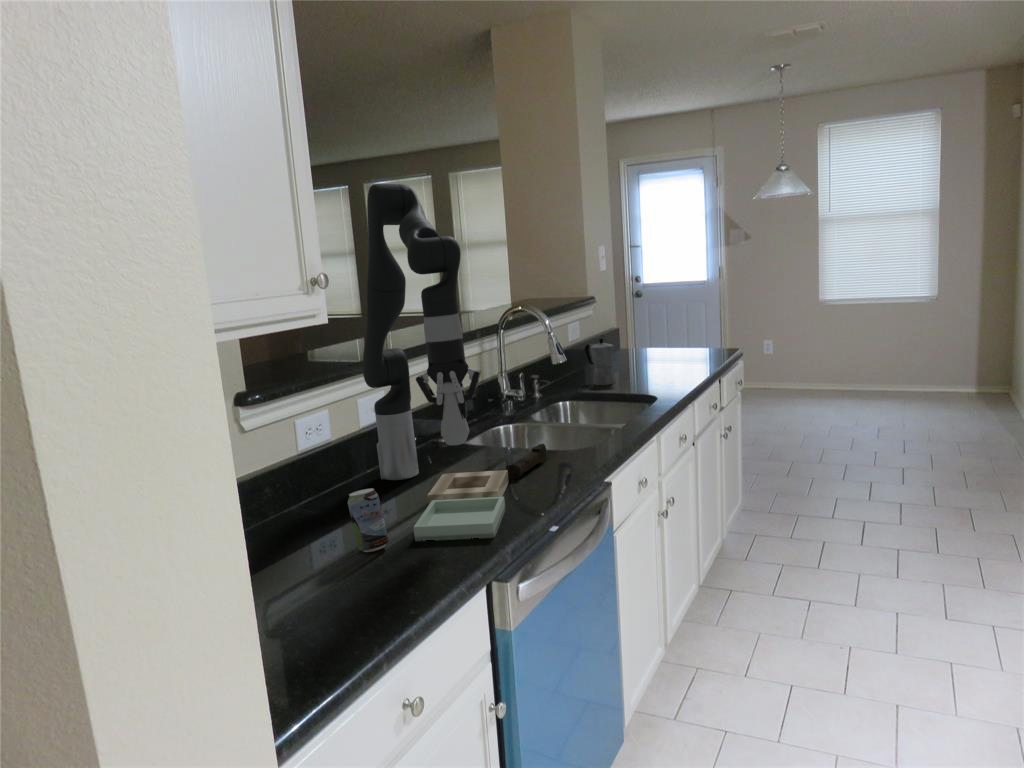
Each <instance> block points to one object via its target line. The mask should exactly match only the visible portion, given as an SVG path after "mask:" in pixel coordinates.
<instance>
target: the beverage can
mask: <svg viewBox="0 0 1024 768" xmlns="http://www.w3.org/2000/svg"><path fill="white" fill-rule="evenodd" d="M348 496H349V497H348V498H347V506H348V510H349V515H350V519H351V524H352V527H353V532H354V536H355V539H356V540H355V541H356V544H357V548H358V550H360V551H362V552H364V553H372V552H376V551H378V550H379V551H380V550H381V549H383V548H385V547H386V545H387V544H388V542H389V536H388V535H389V534H388V530H387V528H386V523H385V518H384V514H383V509H382V506H381V501H380V496H379V494H378V492H376V490H375V488H371V487H370V488H363V489H360V490H356V491H353V492H351V493H349V494H348Z"/></svg>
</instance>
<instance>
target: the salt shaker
mask: <svg viewBox="0 0 1024 768" xmlns="http://www.w3.org/2000/svg"><path fill="white" fill-rule="evenodd" d="M456 387H457V386H456ZM442 392H443V405H444V409H443V421H442V420H440V421H441V423H440V435H441V437H442V439H443V440H444V443H445V444H446V445H448V446H459V445H463V444H466V443H467V439H468V437H469V434H470V428H469V425H468V421H467V419H466V418H467V417H466V418H464V416H463V419H462V416H461V413H460V410H459V407H458V404H459V401H458V398H457V394H456V393H455V390H454V386H453V383H452V382H445V383H443V385H442Z"/></svg>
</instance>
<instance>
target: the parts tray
mask: <svg viewBox="0 0 1024 768" xmlns="http://www.w3.org/2000/svg"><path fill="white" fill-rule="evenodd" d="M505 512H506V500H505V496H502V497H487V498H468V499H449V500H432V501H431V503H430V504H429V503H428V506H427V507H426V509H425V510H424V511H423V513H422V514H421V515H420V517H419V519H418V520H417V522H416V523H415V524H414V526H413V534H414V542H427V541H426V540H435V541H448V540H449V541H455V540H471V538H472V540H474V539H473V538H479V539H494V537H496V535H497V533H498V531H499V528H500V526H501V522H502V520H503V518H504V515H505ZM421 540H422V541H421Z"/></svg>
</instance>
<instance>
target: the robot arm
mask: <svg viewBox="0 0 1024 768" xmlns="http://www.w3.org/2000/svg"><path fill="white" fill-rule="evenodd" d="M366 200H367V203H366V204H367V205H366V206H367V207H366V214H367V235H368V236H367V237H368V258H367V259H368V262H367V277H366V278H367V279H366V281H367V282H366V326H365V327H366V329H365V339H364V347H363V354H362V355H363V356H362V374H363V379H364V382H365V383H366V385H367V386H368V387H369V388H372V389H379V388H384V387H389V386H390V389H389V391H387V393H386V394H385V395H383V396H382V397H381V398H380V399H378V400H376V401H375V402H374V404H373V406H374V413H375V415H374V416H375V423H376V429H377V437H378V442H377V443H376V450H377V457H378V464H379V471H380V472H379V473H380V474H379V475H380V479H381V480H388V481H399V480H400V481H401V480H407V479H410V478H413V477H416V476H418V474H419V473H420V472H419V463H418V453H417V448H416V447H417V444H416V438H415V430H414V423H413V422H414V421H413V413H412V407H411V402H412V392H411V381H410V379H411V378H410V366H409V362H408V361H409V360H408V357H407V355H406V353H405V352H404V350H402V349H401V348H399V347H398V348H397V347H395V348H389V349H384V347H385V343H386V338H387V336H388V334H389V332H390V331H391V330H392V327H393V326H394V325H395V324H396V322H397V320H398V318H399V317H400V315H401V313H402V312H403V309H404V307H405V302H406V288H407V287H406V286H407V282H406V280H407V279H406V276H405V274H404V272H403V269H402V268H401V265H400V264H399V262H397V260H396V258H395V256H394V255H393V253H392V252H391V250H390V248H389V246H388V243H387V241H386V239H385V234H384V233H385V232H384V226H398V235H399V238H400V240H401V242H402V243H403V244H404V246H405V247H406V249H407V251H406V254H407V255H406V256H407V265H408V267H409V268H410V270H411V271H412V272H413V273H415V274H417V275H431V274H432V275H433V274H439V273H440V274H441V273H442V276H441V278H440V281H439V282H438V283H435V284H432V285H429V286H426V287H424V288H423V289H422V290H421V292H420V293H421V294H420V295H421V296H420V297H421V306H422V314H423V330H424V341H425V346H426V347H425V348H426V349H425V350H426V356H427V362H428V363H427V364H428V365H427V368H426V369H427V370H426V372H424V373H423V374H420V375H418V376H417V377H416V378H415V381H416V383H417V385H418V386H419V388H420V390H421V392H422V393H423V395H424V397H425V399H426V401H427V402H428V403H433V404H435V405H437V412H438V419H439V420H440V421H443V409H444V405H443V392H442V385H443V383H445V382H452V383H453V386H454V390H455V393H456V394H457V398H458V401H459V404H458V407H459V410H460V413H461V416H462V419H463V416H464V418H467V417H468V407H467V401H469V400H472V399H473V398H474V396H475V395H476V391H477V388H478V385H479V381H480V379H481V375H482V371H481V370H480V369H477V370H476V369H474V368H471V367H469V365H468V363H467V360H466V355H465V353H466V352H465V347H464V338H463V337H464V336H463V329H462V323H461V319H460V314H459V305H458V298H457V296H458V295H457V286H458V285H457V284H458V275H459V269H460V265H461V255H462V253H461V247H460V245H459V243H458V241H457V240H456V239H455V238H454V237H452V236H449V235H446V236H445V235H444V236H440V235H439V233H438V232H437V230H436V229H435V228H434V227H433V225H432V224H431V222H430V221H428V219H427V217H426V215H425V211H424V208H423V206H422V203H421V202H420V201H421V200H420V199H419V197H418V194H417V192H416V191H415V189H414V188H413V187H412V186H410V185H408V184H400V183H399V184H397V183H396V184H395V183H374V184H371V186H369V189H368V193H367V199H366ZM467 374H468V379H469V380H470V384H469V388H468V390H467V393H466V392H465V387H464V383H463V381H464V379H465V377H466V375H467ZM429 378H430V379H431V381H433V382H434V383H435V385H436V394H435V392H434V391H433V390H432V388H431V386H430V385H429V382H430V379H429ZM456 386H457V387H456Z"/></svg>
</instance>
